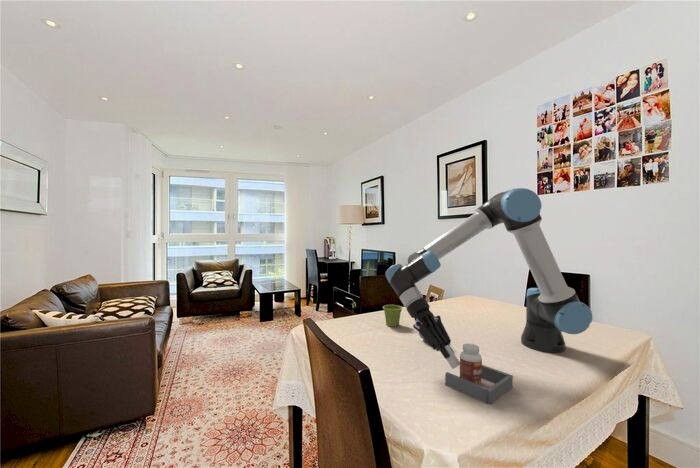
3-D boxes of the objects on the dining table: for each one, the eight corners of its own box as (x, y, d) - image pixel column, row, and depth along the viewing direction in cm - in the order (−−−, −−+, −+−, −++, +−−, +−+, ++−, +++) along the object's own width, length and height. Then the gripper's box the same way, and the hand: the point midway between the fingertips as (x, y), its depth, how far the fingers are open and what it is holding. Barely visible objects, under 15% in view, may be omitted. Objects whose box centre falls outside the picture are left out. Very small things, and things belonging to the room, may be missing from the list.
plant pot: (390, 329, 143) (390, 310, 142) (378, 323, 151) (379, 305, 151) (406, 326, 147) (406, 308, 147) (394, 321, 155) (394, 303, 155)
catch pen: (445, 384, 92) (445, 373, 92) (469, 370, 101) (469, 360, 101) (490, 404, 82) (490, 391, 82) (512, 387, 91) (512, 375, 91)
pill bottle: (476, 390, 89) (476, 351, 89) (456, 382, 94) (456, 346, 93) (484, 382, 94) (485, 346, 93) (465, 375, 98) (465, 340, 98)
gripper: (420, 306, 115) (460, 366, 103) (396, 311, 107) (437, 378, 94) (432, 294, 111) (475, 355, 98) (408, 299, 103) (452, 367, 90)
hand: (456, 366), depth 96 cm, fingers closed
